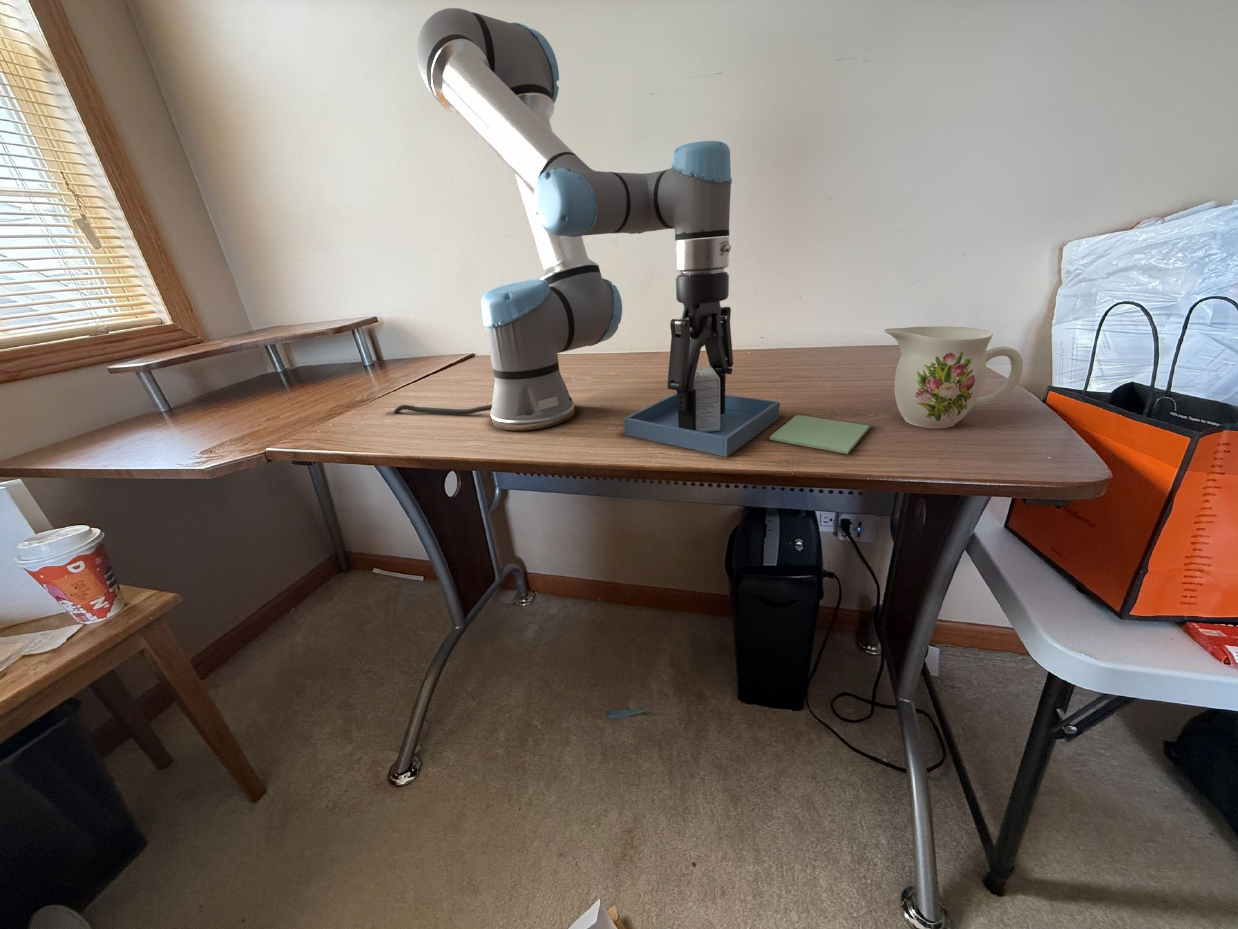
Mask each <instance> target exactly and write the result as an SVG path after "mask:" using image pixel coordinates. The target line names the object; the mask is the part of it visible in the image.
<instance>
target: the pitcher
mask: <svg viewBox="0 0 1238 929" xmlns="http://www.w3.org/2000/svg"><path fill="white" fill-rule="evenodd" d="M884 332H885V333H886V334H887V335H889V336H891V337H892V338H893V339H894V340H896V343H897V344H898V346H899V349H900V352H901V355H900V357H899V360H898V362H897V365H896V370H895V375H894V397H895V402H896V406H897V409H898V412H899V413H900V415H901V416H902V418H903V420H904V421H905V422H906V423H908V424H909V425H912V426H916V427H918V428H919V427H920V428H925V429H948V428H952V427H954V426H955V425H956V424H958V423H959V422H960V421H961V420H963V418H965V417H966V415H967V414H968V413H969V412H970V411H971V409H976V408H981V407H986V406H989V405H992V404H995V403H997V402H1000V401H1001V400H1002V399H1004V398H1006V397H1007V396H1008V395H1009V394H1010V393H1012V391H1013V390H1015V388H1016V387H1017V386H1018V383H1019V381H1020V380H1021V376H1022V373H1023V368H1024V363H1023V362H1024V361H1023V358H1022V355H1021V353H1020V352H1019V351H1018V350H1017V349H1016V348H1014V347H1010V346H997V347H993V348H990V349H987V348H988V346H989V344H990V342H991V340H992V338H993V333H992V332H991V331H989V330H986V329H980V328H975V327H964V326H909V327H894V328H885V329H884ZM997 357H1007V358H1008V359H1009V362H1010V366H1011V367H1010V369H1011V370H1010V372H1009V375H1008V378H1007V380H1006V381H1005V383H1004V384H1003V385H1002V386H1001V387H1000V388H998V389H997V390H995V391H994V392H991V393H989V394H987V395H984V396H980V394H981V392H982V389H983V386H984V384H985V379H986V375H987V363H988V362H989V361H990V360H992V359H995V358H997ZM979 396H980V397H979Z"/></svg>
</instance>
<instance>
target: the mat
mask: <svg viewBox="0 0 1238 929" xmlns="http://www.w3.org/2000/svg"><path fill="white" fill-rule="evenodd" d="M870 427H871V426H870V425H868V424H861V423H854V422H849V421H843V420H842V421H841V420H834V419H827V418H820V417H814V416H807V415H800V414H796V415H795V416H793V417H792V418H791V419H790V420H789V421H787V422H786V423H785V424H783V425H782V426H781V427H779V428H778V429H777V430H776V431H774V432H773V433H772V434H771V435H770V436H769V437H768V438H769V439H768V440H769V441H775V442H780V443H786V444H789V445H790V444H791V445H795V446H802V447H808V448H812V449H818V450H823V451H830V452H834V453H840V454H845V455H848V454H849V453H850V452H851V451H852V450H853V448H855V446H856V445H857V444H858V443H859V441H860V440H861V439H862V438H863V437H864V436H865V435H866V433H867V432H868V431H869V430H870Z"/></svg>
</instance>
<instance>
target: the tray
mask: <svg viewBox="0 0 1238 929" xmlns="http://www.w3.org/2000/svg"><path fill="white" fill-rule="evenodd" d="M677 403H678V402H677V392H675V393H673V394H671V395H669V396H666V397H665V398H663V399H661V400H658V401H657V402H655V403H652V404H650V405H649V406H646V407H644V408H642V409H640V410H638V411H635V412H634V413H631V414H630V415H628V416H625V417H623V428H624V436H628V437H632V438H638V439H643V440H646V441H651V442H657V443H661V444H665V445H669V446H675V447H680V448H683V449H688V450H693V451H698V452H702V453H706V454H711V455H716V456H721V457H725V458H728V457H729V456H731V455H732V454H733V453H735V452H736V451H738V449H740V448H741V447H742V446H744V445H745V444H746V443H748V442H749V441H751V440H752V439H753V438H754V437H756V436H757V435H759V433H761V432H763V431H764V430H765V429H766V428H767V427H769V426H770V425H772V424H773V423H775V422H776V421H777V420H778V419H779V418H780V406H781V401H777V400H770V399H761V398H755V397H748V396H739V395H733V394H732V395H731V394H725V413H724V414H720V431H715V432H700V431H694V430H689V429H684V428H679V427H678V405H677Z"/></svg>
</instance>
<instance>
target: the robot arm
mask: <svg viewBox="0 0 1238 929" xmlns="http://www.w3.org/2000/svg"><path fill="white" fill-rule="evenodd" d="M416 61H417V67H418V70H419V73H420V76H421V79H422V80H423V83H424V84H425V86H426V88H427V89H428V91H429V93H431V95H432V96H433V97H434V98H435V100H436V101H437V102H438V103H439V104H440V105H441V106H442V107H443V108H444V109H445V110H446V111H447V112H450V113H451V114H454V115H459V116H461V117H462V118H463V120H464V121H465V122H466V123H467V124H468V125H469V126H470V127H471V128H472V130H473V131H475V133H477V135H478V136H479V137H480V138H481V139H482V140H483V141H484V142H485V143H486V144H487V145H488V147H489V148H490V149H492V151H493V152H494V153H495V154H496V155H497V156H498V157H499V158H500V159H501V161H502V162H503V163H504V164H505V165H506V166H507V167H508V168H509V169H510V170H511V171H512V173H514V176H515V179H516V182H517V187H518V189H519V192H520V197H521V200H522V202H523V206H524V209H525V212H526V216H527V219H528V222H529V226H530V228H531V233H532V236H533V239H534V242H535V245H536V249H537V253H538V256H539V259H540V262H541V265H542V266H541V267H542V269H543V273H542V275H541V277H540V278H536V279H527V280H522V281H517V282H512V283H508V284H504V285H501V286H500V285H499V286H498V287H495V288H492V289H489V290H488V291H487V292H485V293H484V294H483V296H482V297H481V300H480V301H481V302H480V305H481V316H482V319H481V320H482V324H483V326H484V331H485V336H486V342H487V346H488V351H489V352H488V353H489V358H490V363H491V368H492V374H493V378H494V387H493V393H492V401H491V404H487V405H481V406H477V407H471V408H463V409H462V408H460V409H459V408H445V407H444V408H443V407H430V406H429V407H427V406H415V405H411V404H410V405H409V404H401V405H398V406H397V407H395V409H393V411H392V414H393V415H397V414H399V413H400V412H401V411H411V412H415V413H416V412H417V413H432V414H445V415H447V414H448V415H471V414H477V413H480V412H486V411H490V418H491V423H492V426H494V427H495V428H498V429H501V430H505V431H515V432H519V431H521V432H522V431H533V430H540V429H546V428H551V427H553V426H557V425H559V424H562V423H565V422H567V421H569V419H571V418H572V417H573V416H575V413H576V410H575V403H574V400H573V398H572V396H571V395H570V393H569V389H568V387H567V386H566V382H565V381H564V378H563V376H562V374H561V372H560V371H561V370H560V364H559V356H558V354H560V353H565V352H569V351H573V350H577V349H580V348H585V347H592V346H596V345H598V344H599V343H602V342H605V341H607V340H609V339H611V338H612V337H613V336H614V335H615V334H616V333H617V331H618V329H619V325H620V324H621V322H622V317H623V301H622V297H621V293H620V291H619V289H618V287H617V285H615V284H613V282H612V281H611V280H609V279H606V278H604V277H603V275H602V273H601V269H600V265H599V263H597V262H595V261H593V260H592V259H591V258H589V257H588V256H589V255H588V254H587V250H586V245H585V242H584V239H583V236H584V237H585V236H596V235H606V234H607V235H608V234H630V235H635V234H638V235H640V234H643V233H646V232H647V233H648V232H655V231H663V230H674V267H675V268H674V270H675V271H677V272H679V275H677V277H675V294H676V295H675V297H676V301H677V302H678V303H680V304H682V305H683V311H682V315H681V317H680V318H672V319H671V320H670V321H669V326H670V334H671V337H670V338H671V339H670V349H669V359H668V360H669V362H668V372H667V374H668V375H667V383H666V384H667V385H666V386H667V388H668V390H671V391H676V393H677V402H678V403H677V405H678V427H679V428H684V429H689V430H694V431H696V390H692V387H693V382H694V378H695V373H696V369H697V367H698V365H699V360H700V354H701V350H702V348H703V347H704V348H705V352H706V355H707V359H708V363H709V366H711V367H712V368H713V369H714V371H715V372H716V374H717V375H718V376H719V378H720V414H724V413H725V395H726V382H727V381H726V380H727V376H726V375H732V373H733V366H734V354H733V353H734V352H733V343H732V342H733V341H732V328H731V315H732V314H731V313H732V308H731V307H730V306H722V305H721V302H722V301H725V300H727V299H728V298H729V293H730V291H729V290H730V289H729V288H730V274H729V273H728V272H727V271H725V269H726V268H728V267H729V266H730V252H731V250H732V245H731V244H730V216H731V215H730V213H731V212H730V210H731V192H732V183H733V179H732V173H731V172H732V171H731V167H732V166H731V149H730V147H729V146H728V144H726V143H725V142H723V141H720V140H719V141H718V140H702V141H693V142H688V143H685V144H682V145H680V146H677V147H676V148H675V149H674V151H673V153H672V163H671V167H669V168H667V169H663V170H659V171H653V172H648V173H647V172H646V173H637V172H636V173H635V172H614V171H600V170H599V171H598V170H594V169H592V168H590V167H589V166H588V165H587V163H585V162H584V161H583V160H582V159H581V158H580V157H579V156H578V155H577V154H576V153H574V151H573V150H571V148H569V146H568V145H566V143H565V142H563V140H562V139H560V137H559V136H558V135H557V134H556V133H555V132H554V131H553V128H552V125H551V119H552V117H553V115H554V112H555V103H556V100H557V98H558V96H559V90H560V87H559V85H558V82H559V81H560V70H559V66H558V60H557V57H556V55H555V52H554V48H552V46H551V44H550V42H549V41H548V39H547V38H546V37H545V36H544V35H543V34H542V33H541V32H539V31H537V30H536V29H533V28H530V27H528V26H527V25H525V24H524V23H521V22H508V21H505V20H501V19H498V18H494V17H491V16H488V15H484V14H482V13H479V12H474V11H470V10H467V9H465V8H459V7H448V8H443V9H441V10H438V11H436V12H435V13H433V14H432V15H430V17H428V18H427V19H426V20H425V22H424V24H422V27H421V29H420V31H419V34H418V36H417V43H416Z"/></svg>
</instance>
